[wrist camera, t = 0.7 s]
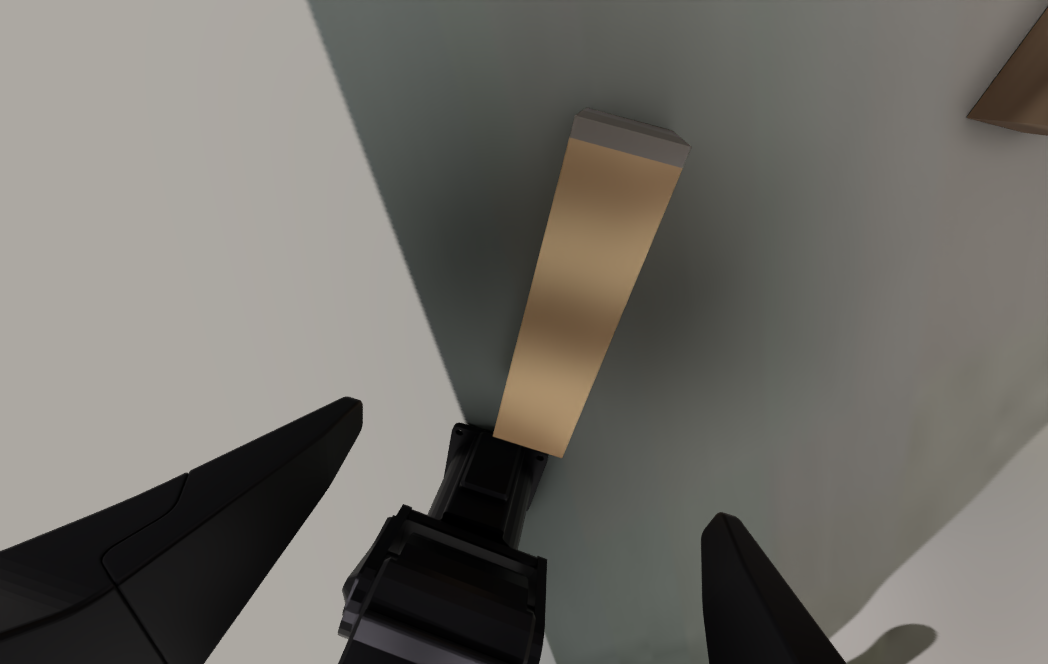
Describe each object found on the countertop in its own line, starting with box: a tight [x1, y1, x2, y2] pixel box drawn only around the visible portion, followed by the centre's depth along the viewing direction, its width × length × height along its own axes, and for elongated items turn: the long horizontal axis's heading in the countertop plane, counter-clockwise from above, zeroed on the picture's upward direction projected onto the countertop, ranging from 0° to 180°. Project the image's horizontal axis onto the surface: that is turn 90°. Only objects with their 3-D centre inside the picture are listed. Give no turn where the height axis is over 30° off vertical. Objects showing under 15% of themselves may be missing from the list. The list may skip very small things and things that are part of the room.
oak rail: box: [493, 108, 691, 458], centre depth 18 cm, size 14×4×5 cm, turn 168°
